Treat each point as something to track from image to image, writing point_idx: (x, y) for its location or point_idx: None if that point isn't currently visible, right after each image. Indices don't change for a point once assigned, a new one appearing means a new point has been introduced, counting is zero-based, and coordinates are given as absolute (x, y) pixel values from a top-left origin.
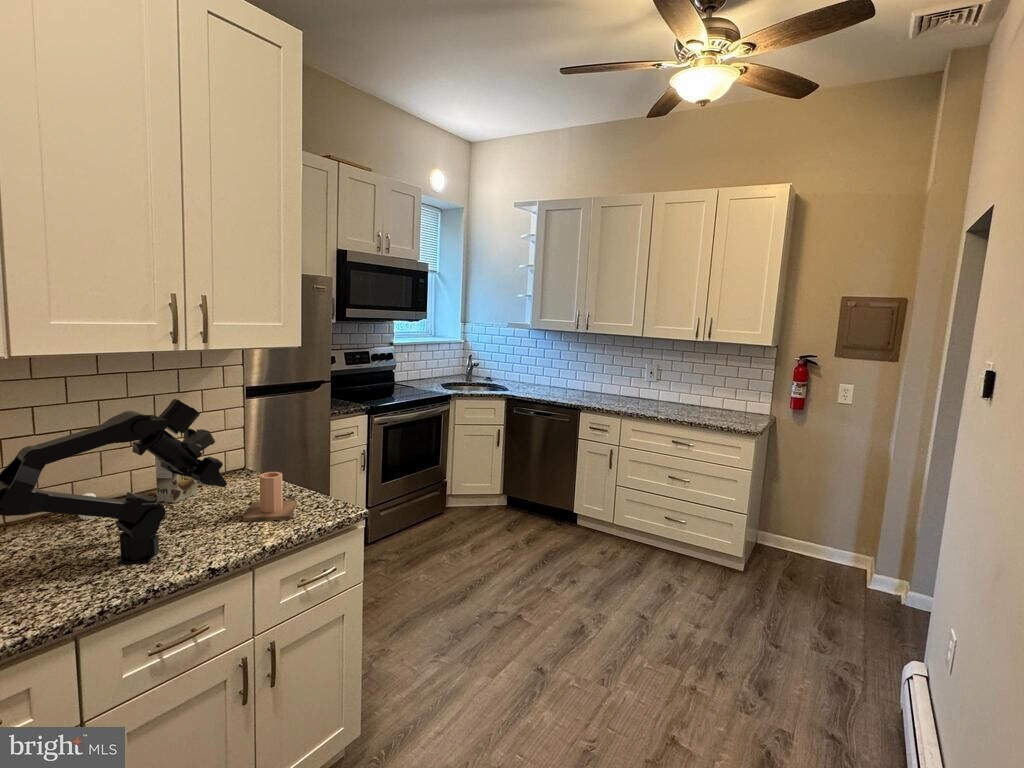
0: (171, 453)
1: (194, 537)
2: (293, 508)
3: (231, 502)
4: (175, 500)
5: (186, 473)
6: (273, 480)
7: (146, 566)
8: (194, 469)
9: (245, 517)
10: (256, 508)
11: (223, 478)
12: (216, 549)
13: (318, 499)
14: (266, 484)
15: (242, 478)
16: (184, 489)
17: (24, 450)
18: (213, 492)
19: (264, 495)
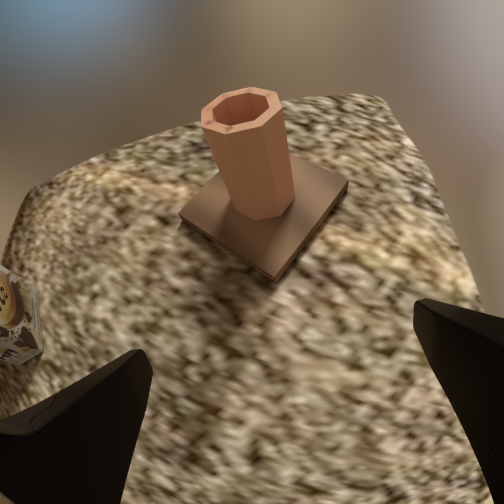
0: None
1: (292, 441)
2: (296, 158)
3: (122, 253)
4: (38, 346)
5: (108, 495)
6: (283, 116)
7: None
8: (89, 434)
9: (277, 271)
10: (230, 222)
11: (482, 313)
12: (427, 413)
13: None
14: (269, 142)
15: (52, 195)
16: (23, 314)
17: None
18: (54, 261)
19: (269, 178)
